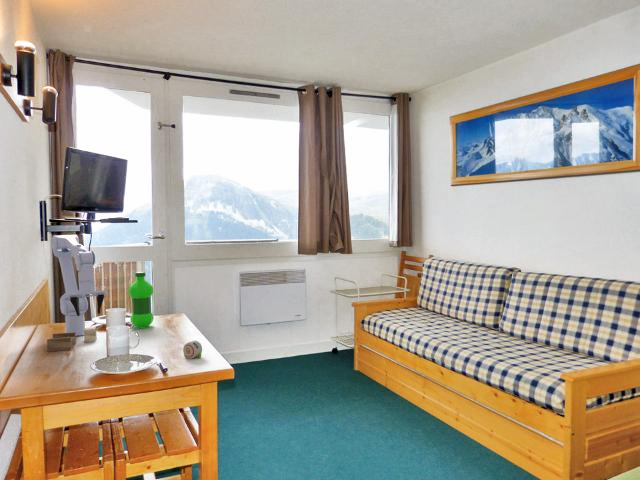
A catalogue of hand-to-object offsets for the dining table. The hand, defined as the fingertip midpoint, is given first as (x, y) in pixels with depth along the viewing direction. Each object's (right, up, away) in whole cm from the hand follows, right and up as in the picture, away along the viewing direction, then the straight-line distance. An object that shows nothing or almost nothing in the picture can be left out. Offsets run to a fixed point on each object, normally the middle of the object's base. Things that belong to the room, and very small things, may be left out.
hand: (88, 314), depth 199 cm
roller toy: (+49, -11, -26) cm, 56 cm away
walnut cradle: (-7, -11, -8) cm, 15 cm away
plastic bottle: (+12, -10, +26) cm, 30 cm away
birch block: (0, -11, +2) cm, 11 cm away
